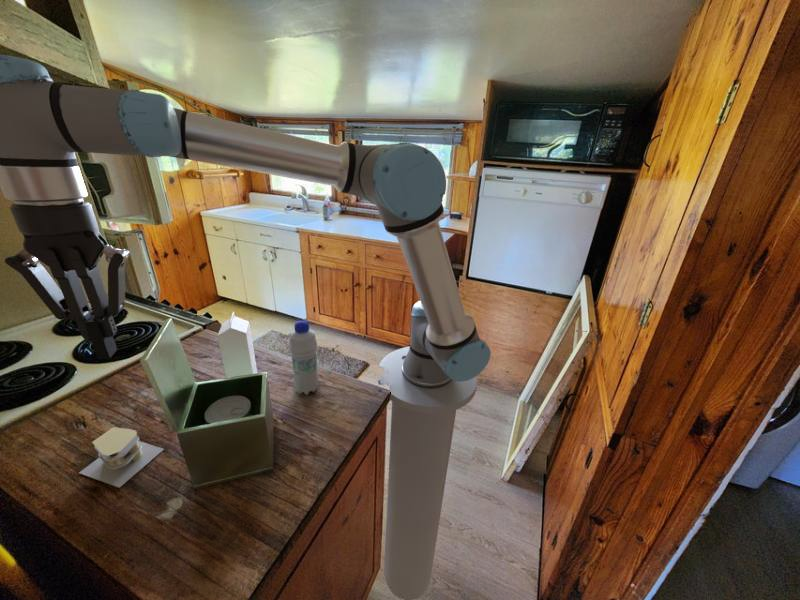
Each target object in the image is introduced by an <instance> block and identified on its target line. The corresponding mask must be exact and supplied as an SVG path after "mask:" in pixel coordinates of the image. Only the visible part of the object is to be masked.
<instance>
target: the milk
mask: <svg viewBox="0 0 800 600" xmlns="http://www.w3.org/2000/svg"><path fill="white" fill-rule="evenodd" d="M216 336H217V342H218V346H219V351H220V357H221V361H222V365H223V371H224V375H225V378H230V377H236V376H243V375H249V374H256V373H258V369H257V363H256V357H255V355H256V354H255V351H254V350H255V348H254V343H253V338H252V337H253V336H252V331H251V325H250V321H249V320H246V319H244V318H241V317H238V316H236V314H235V311H234V310H233V311H232V314H231V316H230V318H229V319H227V320H226V321H224V322H222V323H221V326H220V328H219V331H218V333H217V335H216Z"/></svg>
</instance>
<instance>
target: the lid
mask: <svg viewBox="0 0 800 600" xmlns="http://www.w3.org/2000/svg"><path fill="white" fill-rule="evenodd" d="M139 362H140V364H141V366H142V369H143V370H144V373H145V375H146V377H147V380H148V381H149V383H150V385H151V388H152V390H153V392H154V394H155V396H156V399H157V401H158V403H159V406H160V407H161V410H162V411H163V413H164V415H165V417H166V420H167V422H168V424H169V426H170V428H171V430H172V433H174V432H177V431H178V430H179V428H180V425H181V422H182V419H183V416H184V413H185V410H186V407H187V404H188V401H189V399H190V396H191V393H192V390H193V387H194V384H195V383H196V381H197V380H196V378H195V375H194V372H193V370H192V368H191V365H190V362H189V360H188V356H187V354H186V352H185V349H184V346H183V344H182V341H181V339H180V336H179V333H178V331H177V329H176V326H175V324H174V321H173V319H172V317H170V318H166V319H165V320H164V322H163V323H162V325H161V327H160V328H159V330H158V331H157V333H156V335H155V336H154V338H153V339H152V341H151V342H150V344H149V345H148V347H147V348H146V350H145V352H144V353H143V355H142V356H141V357H140V359H139Z"/></svg>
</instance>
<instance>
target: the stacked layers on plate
mask: <svg viewBox="0 0 800 600" xmlns="http://www.w3.org/2000/svg"><path fill="white" fill-rule="evenodd" d="M91 443H92V445H94V449H95V450H96V452H97V453H98V454H97V456H98V458H97V459H96V460H94V461H93V462H91V463H90V464H88V465H87V466H86V467H84V468H83V469H81V470H80V471H79V472H78V474H80V475H83V476H86V477H88V478H91V479H94V480H97V481H100V482H102V483H105V484H108V485H110V486H113V487H116V488H121V487H122V486H123V485H124V484H126V483H127V482H129V480H130V479H132V478H133V477H134V476H135V475H136V474H137V473H138V472H140V471H141V470H142V469H143V468H144V467H145V466H146V465H148V464H149V463H150V462H151V461H152V460H154V459H155V458H156V457H157V456H158V455H160V453H162V452H163V451H164V450H165V448H163V447H161V446H157V445H154V444H150V443H147V442H143V441H141V440H140V437H139V435H138V431H137V430H136V429H131V428H123V427H116V426H113V427H111V428H110V429H108V430H107V431H106V432H104V433H103V434H102V435H100V436H98V437H97V438H96V439H94V440H93V441H92V442H91Z"/></svg>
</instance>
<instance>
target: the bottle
mask: <svg viewBox="0 0 800 600" xmlns="http://www.w3.org/2000/svg"><path fill="white" fill-rule="evenodd" d="M293 327H294V330H293V331H291V332H290V333H289V340H288V341H289V342H288V349H289V354H290V355H291V363H292V372H293V374H292V375H293V376H292V377H293V378H292V382H293V387H294V389H295V391H296V392H297V393H298V394H299V395H302V394H303V393H304V396H305V395H306V396H307V395H309V394H310V393H315V392H316V390H317V388H318V387H319V384H320V383H319V381H320V380H319V373H318V372H319V371H318V363H317V350H318V342H317V338H316V333H315V331H314V330H312V329H310V324H309V322H308V321H307V320H298V321H296V323H294V326H293Z"/></svg>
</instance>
